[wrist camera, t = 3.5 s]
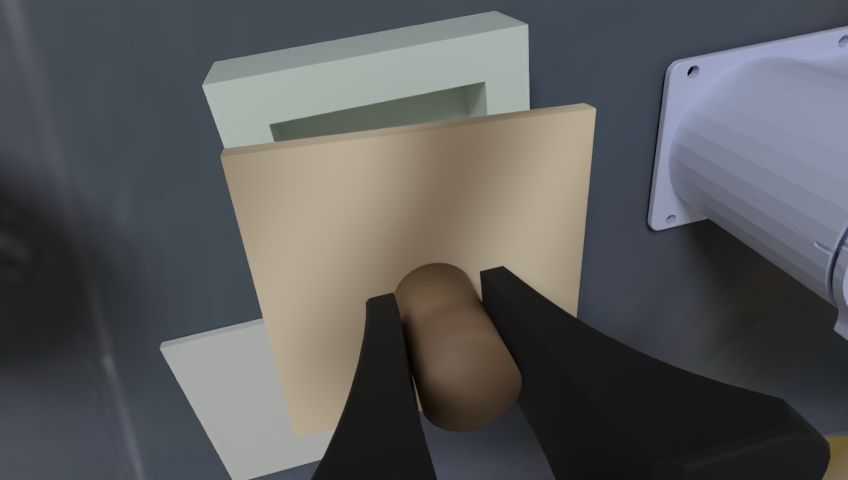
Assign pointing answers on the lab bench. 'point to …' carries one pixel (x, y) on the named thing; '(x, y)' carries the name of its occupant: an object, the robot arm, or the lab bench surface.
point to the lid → (411, 249)
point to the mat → (241, 399)
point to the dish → (373, 81)
